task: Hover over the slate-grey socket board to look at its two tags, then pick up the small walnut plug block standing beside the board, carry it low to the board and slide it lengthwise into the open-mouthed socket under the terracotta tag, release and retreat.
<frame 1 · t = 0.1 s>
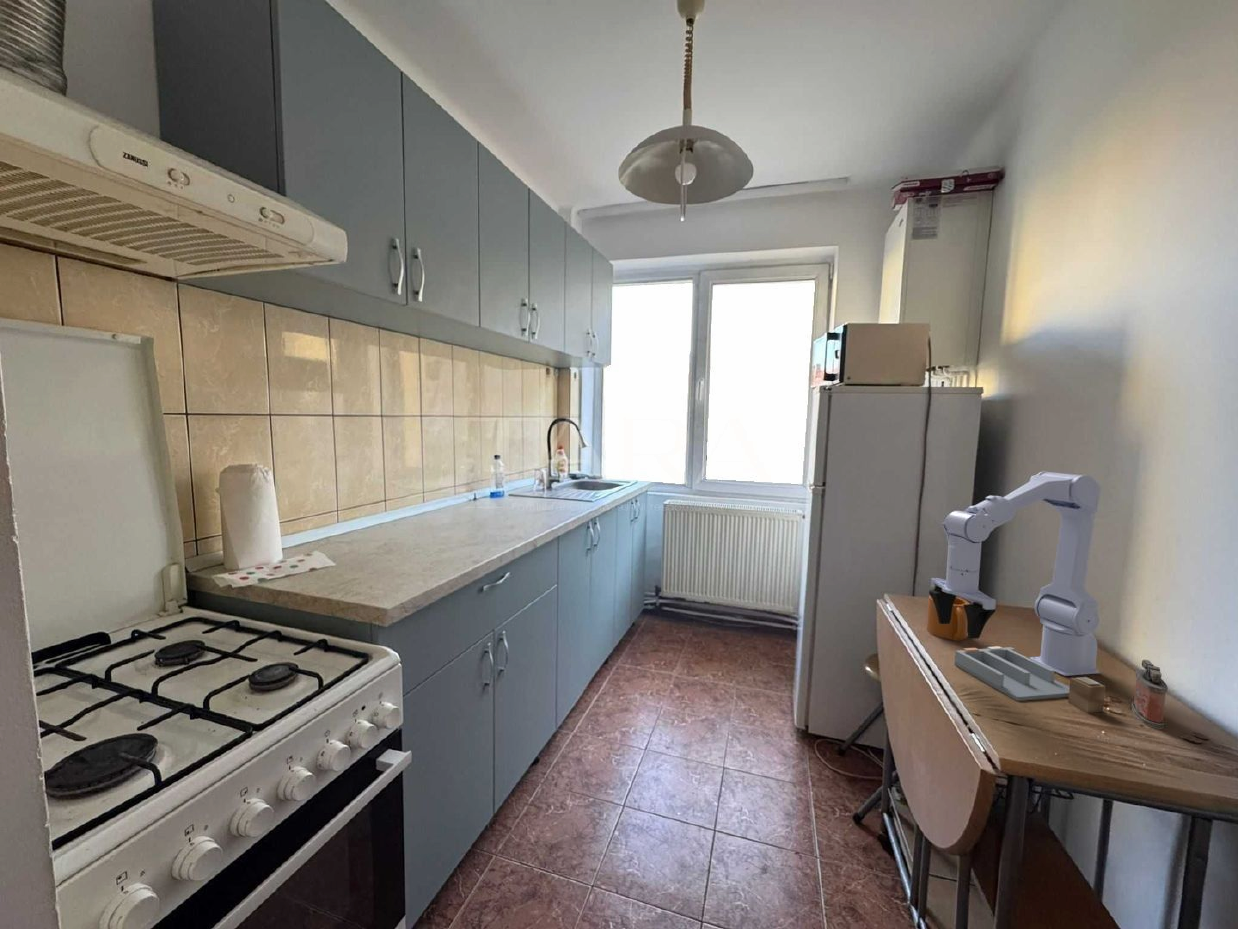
hand: (958, 630, 107), 10 cm above the table, fingers open, 7 cm apart
mug: (947, 636, 129), on the table
lighter: (1146, 718, 94), on the table
plug: (1085, 707, 97), on the table
socket board: (1013, 679, 107), on the table
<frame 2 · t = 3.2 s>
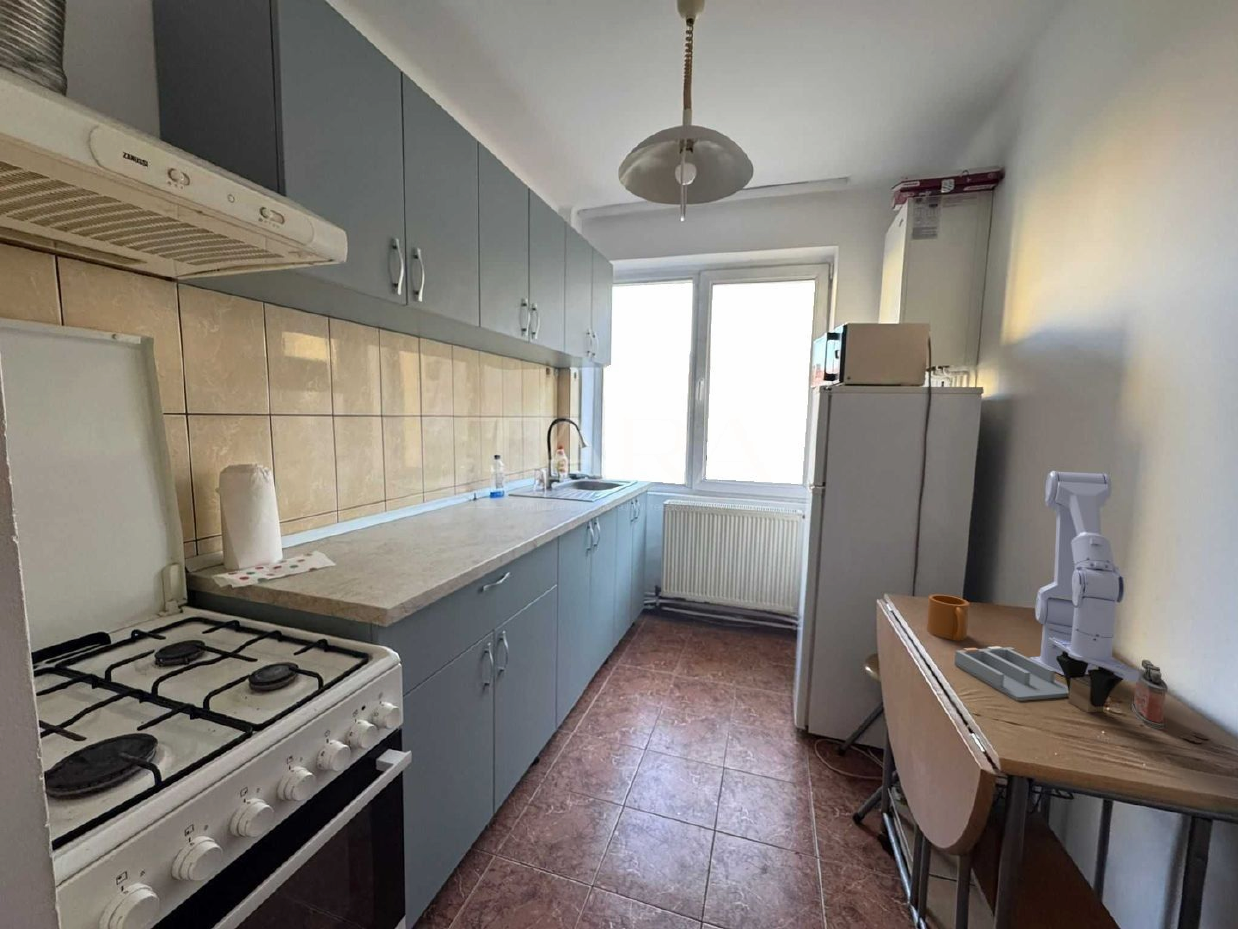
hand: (1086, 699, 97), 1 cm above the table, fingers closed on plug, 3 cm apart
plug: (1085, 706, 97), on the table, touching gripper
everything else where it was.
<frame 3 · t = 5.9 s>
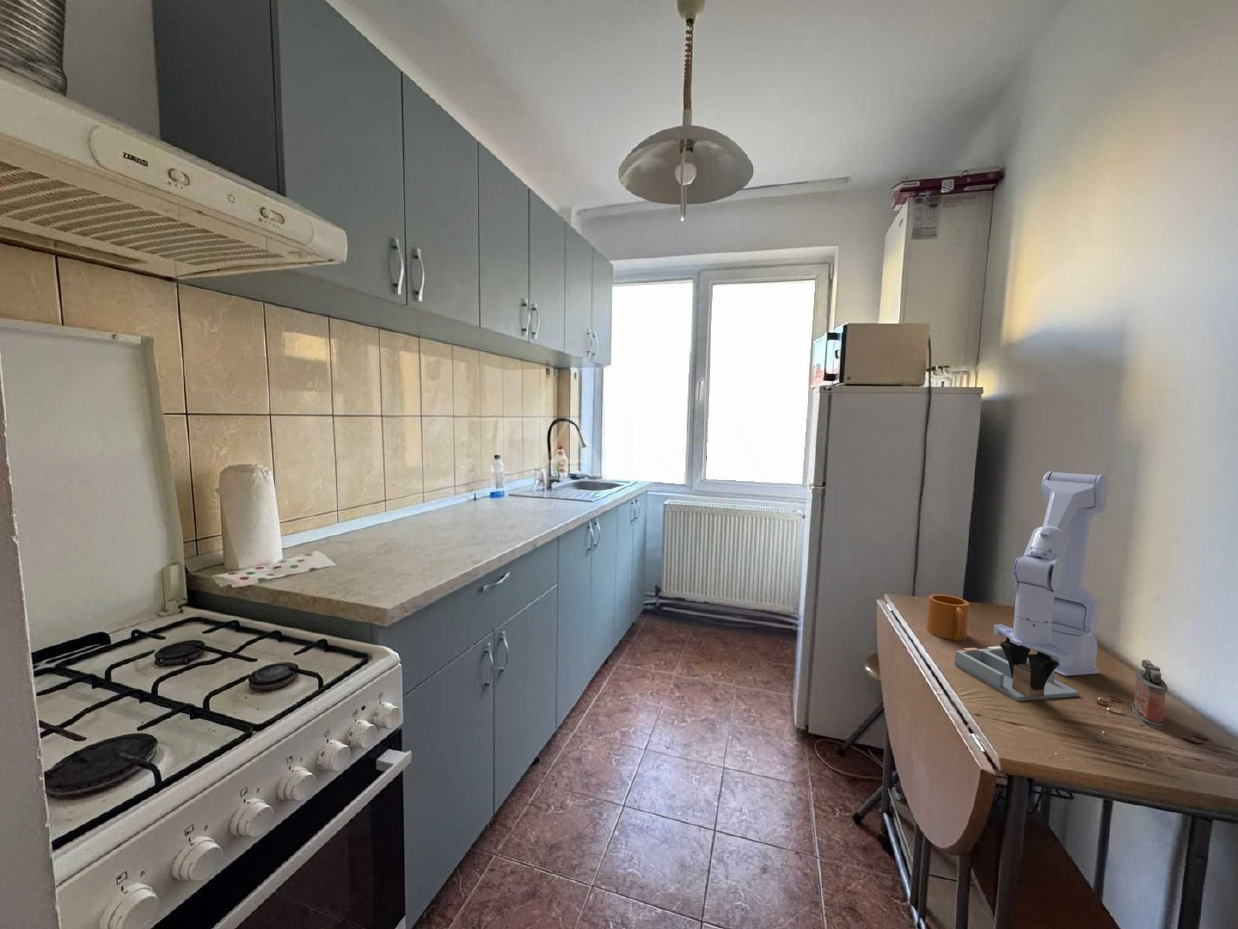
hand: (1027, 683, 100), 3 cm above the table, fingers closed on plug, 3 cm apart
plug: (1027, 692, 100), point 1 cm above the table, touching gripper
everything else where it was.
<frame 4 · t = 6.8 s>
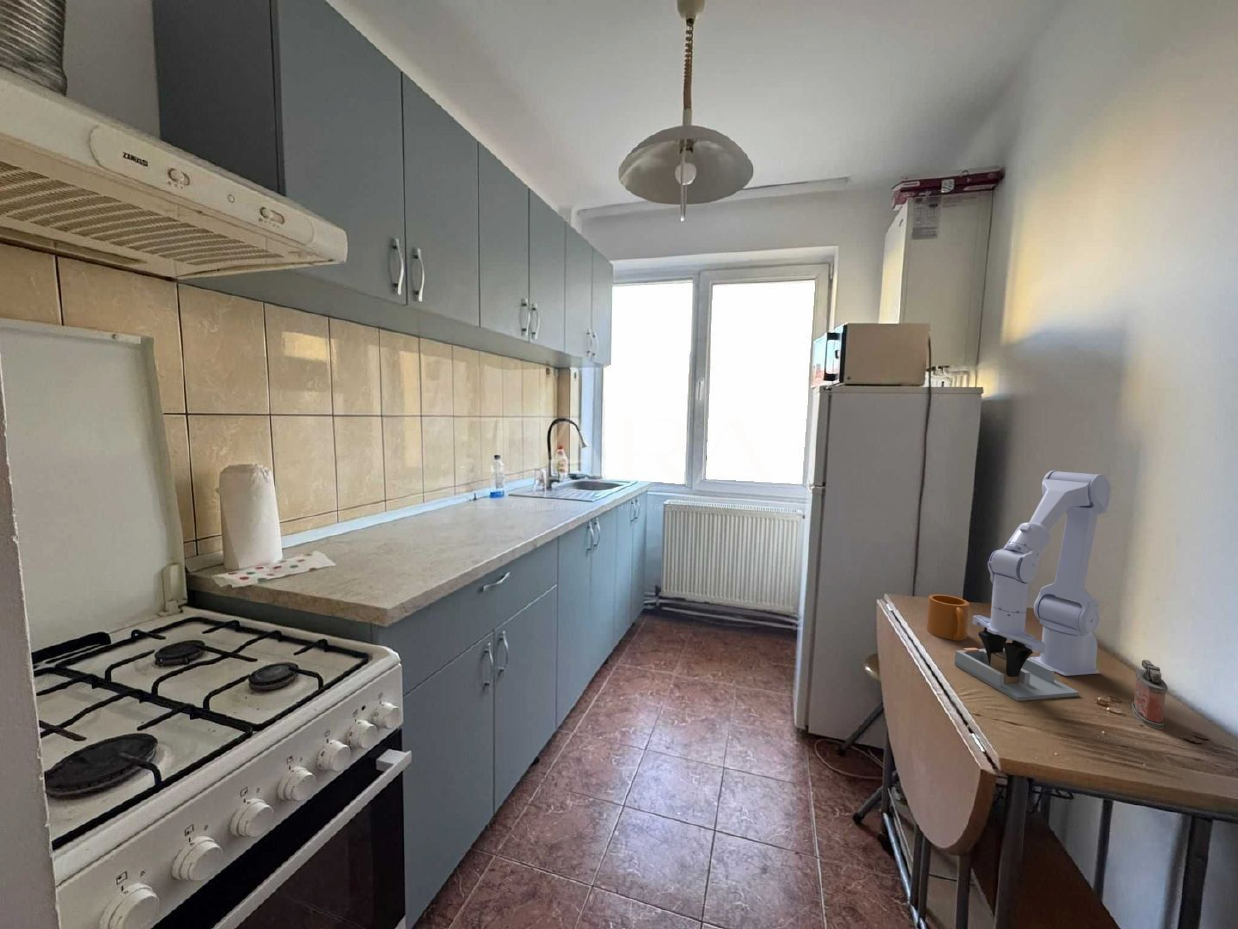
hand: (1003, 671, 105), 3 cm above the table, fingers closed on plug, 3 cm apart
plug: (1003, 679, 105), point 1 cm above the table, touching gripper
everything else where it was.
when the fingers open (3 cm above the table, at t = 7.9 s): plug stays where it is, resting on socket board.
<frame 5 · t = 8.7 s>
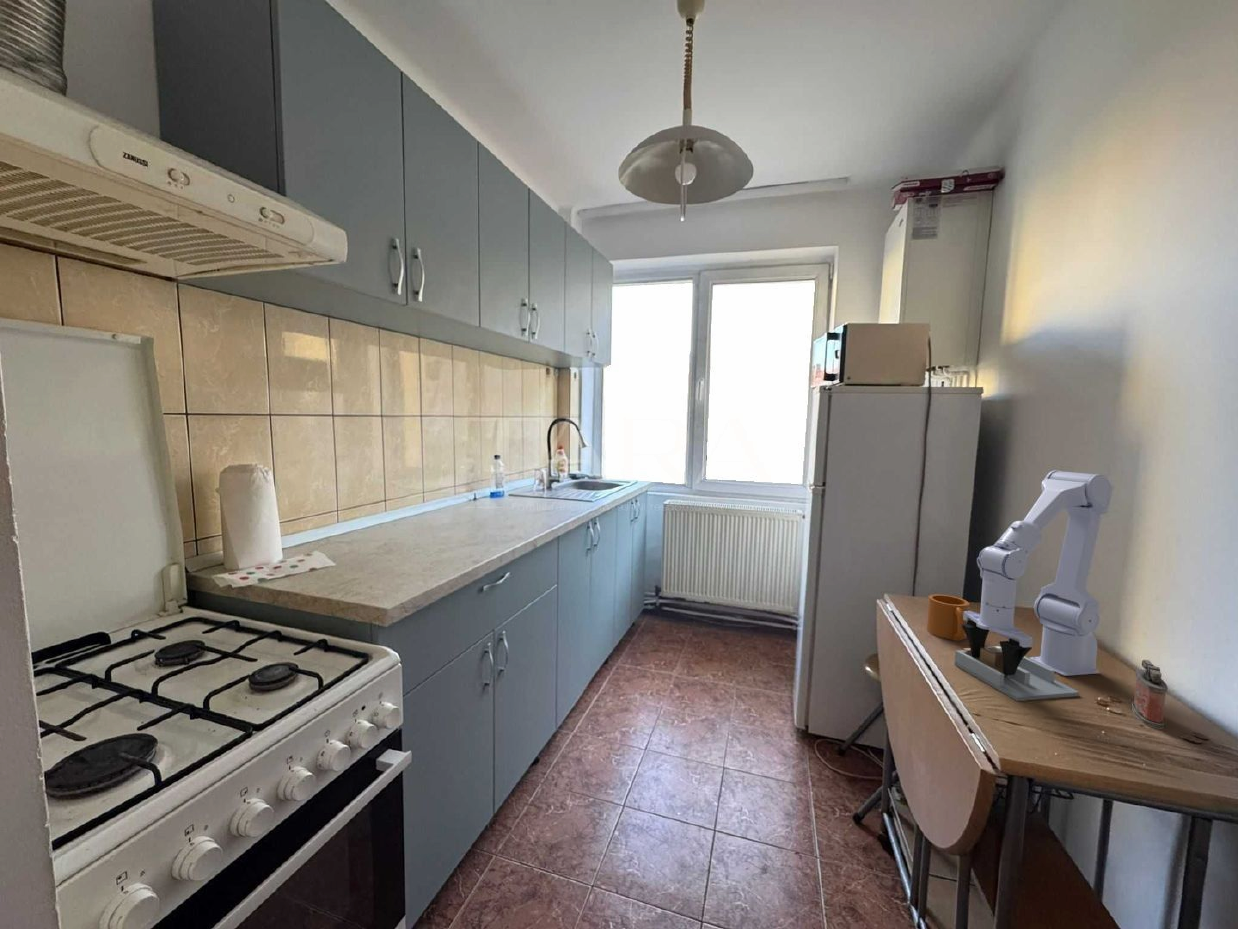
hand: (992, 665, 108), 3 cm above the table, fingers open, 7 cm apart
plug: (993, 673, 108), point 1 cm above the table, touching socket board
everything else where it was.
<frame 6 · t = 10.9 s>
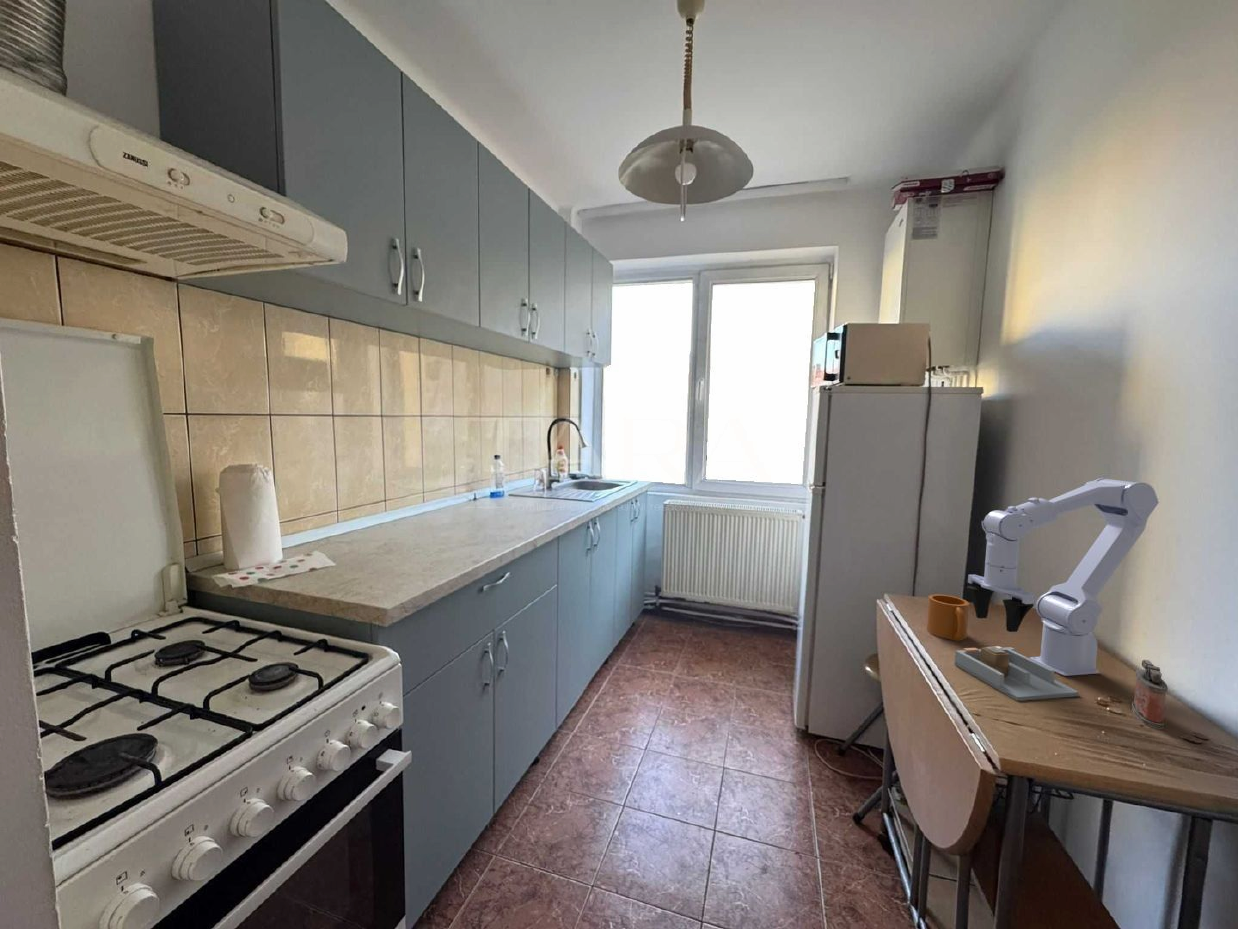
hand: (996, 624, 113), 9 cm above the table, fingers open, 7 cm apart
nothing on the table moved.
at the end: plug inside the target area (0.4 cm from its centre), point 0.8 cm above the table; the gripper is holding nothing; plug tilted 0° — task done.
